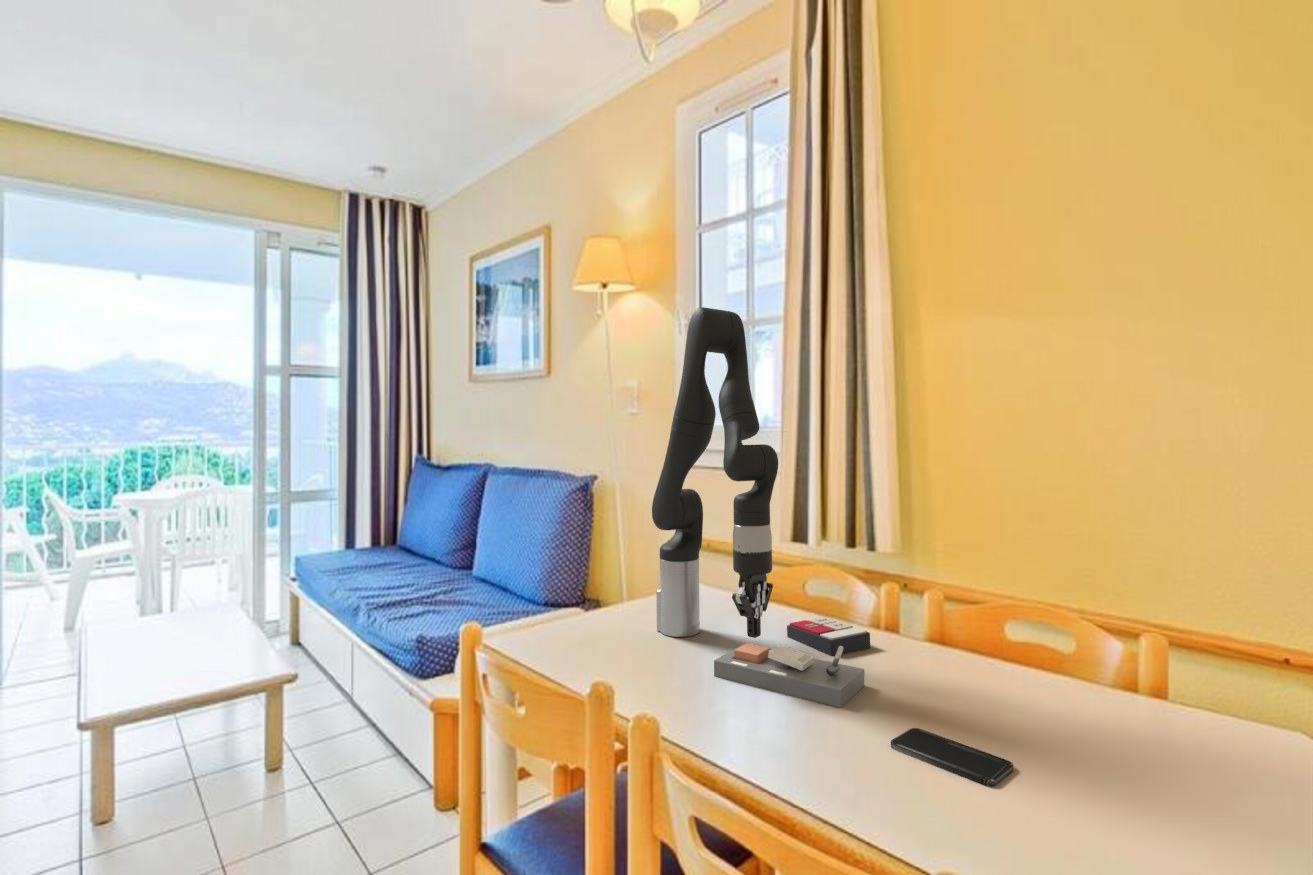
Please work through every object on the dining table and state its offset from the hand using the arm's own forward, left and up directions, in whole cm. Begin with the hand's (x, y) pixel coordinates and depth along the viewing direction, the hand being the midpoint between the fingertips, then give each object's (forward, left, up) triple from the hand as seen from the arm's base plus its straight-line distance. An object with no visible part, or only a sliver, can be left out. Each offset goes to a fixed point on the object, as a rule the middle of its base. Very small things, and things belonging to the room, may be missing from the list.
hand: (753, 636), depth 129 cm
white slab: (+8, 0, -4) cm, 9 cm away
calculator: (+5, +25, -8) cm, 27 cm away
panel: (+8, 0, -7) cm, 10 cm away
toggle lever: (+16, 0, -4) cm, 16 cm away
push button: (0, 0, -5) cm, 5 cm away
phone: (+39, -13, -8) cm, 41 cm away
